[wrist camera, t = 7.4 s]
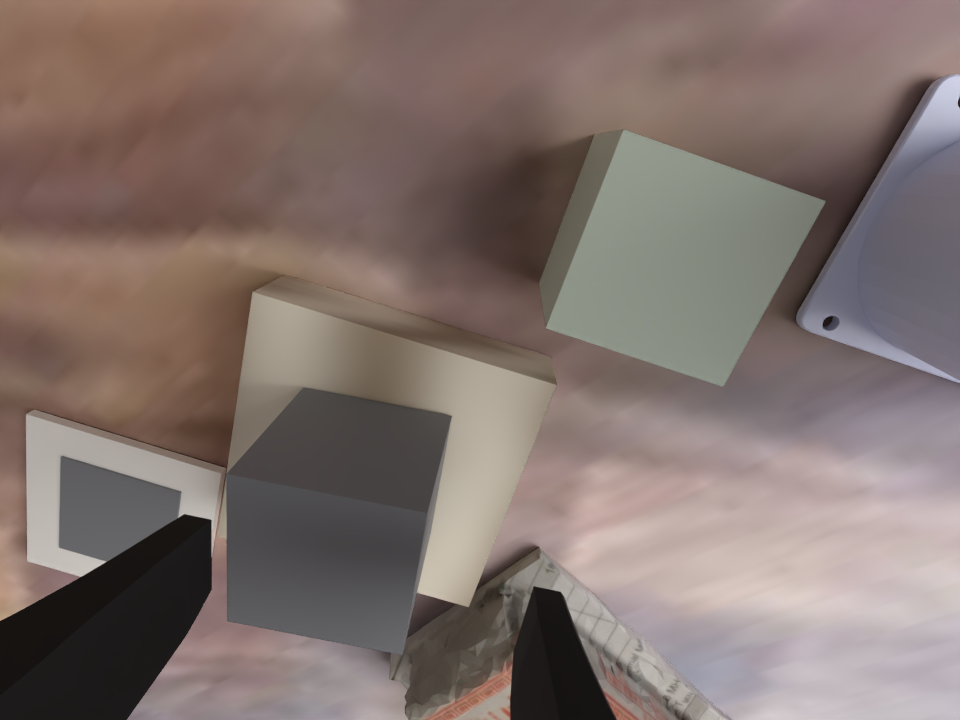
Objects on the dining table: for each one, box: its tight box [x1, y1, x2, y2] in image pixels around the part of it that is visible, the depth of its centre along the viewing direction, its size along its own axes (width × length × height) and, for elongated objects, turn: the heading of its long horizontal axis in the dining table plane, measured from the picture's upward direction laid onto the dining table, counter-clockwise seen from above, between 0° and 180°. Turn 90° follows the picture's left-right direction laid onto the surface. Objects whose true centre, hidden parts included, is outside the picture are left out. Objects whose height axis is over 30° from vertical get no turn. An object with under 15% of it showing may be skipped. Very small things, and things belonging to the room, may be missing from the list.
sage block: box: [539, 129, 826, 387], centre depth 15 cm, size 5×5×5 cm
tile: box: [26, 410, 226, 605], centre depth 23 cm, size 8×8×1 cm
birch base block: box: [217, 275, 557, 607], centre depth 20 cm, size 10×10×3 cm
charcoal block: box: [226, 387, 452, 655], centre depth 16 cm, size 5×5×5 cm
